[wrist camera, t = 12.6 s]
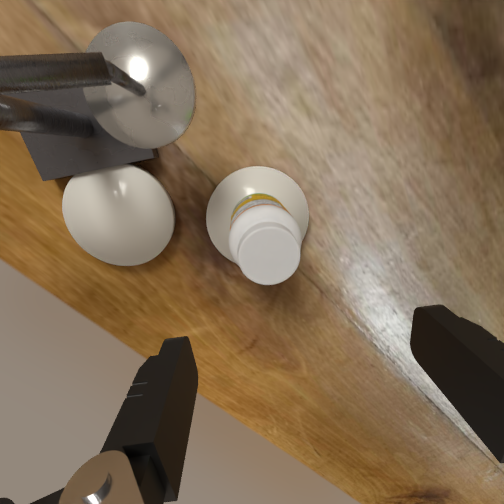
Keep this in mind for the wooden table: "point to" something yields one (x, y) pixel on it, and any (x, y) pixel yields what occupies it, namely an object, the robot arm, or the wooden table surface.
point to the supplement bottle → (264, 239)
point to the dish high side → (119, 214)
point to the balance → (98, 101)
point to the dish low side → (244, 185)
